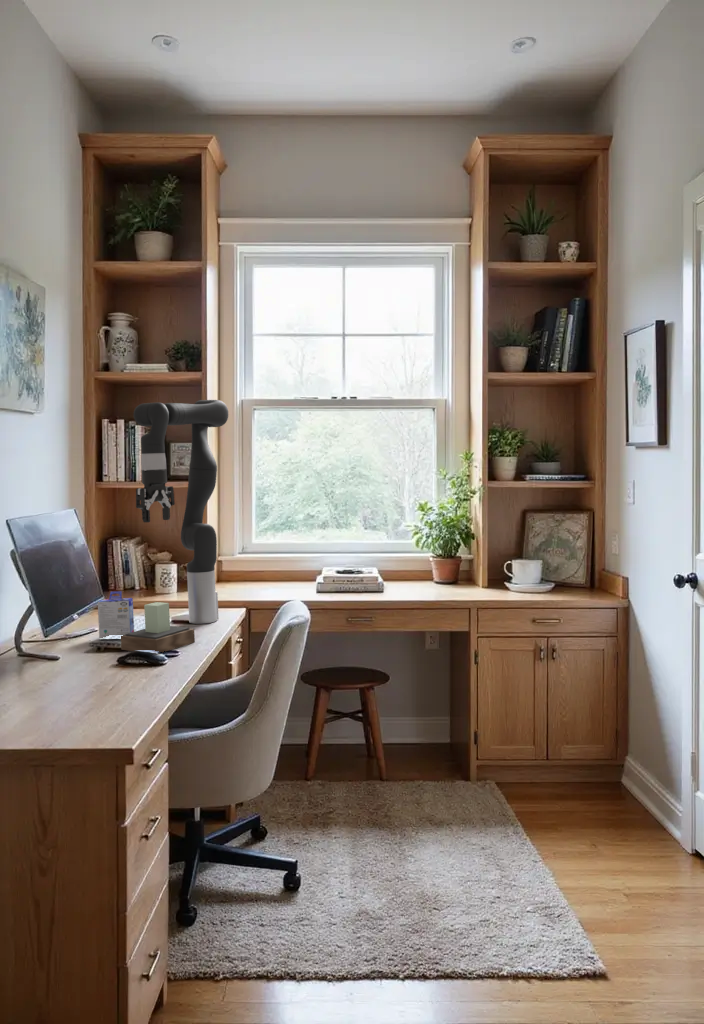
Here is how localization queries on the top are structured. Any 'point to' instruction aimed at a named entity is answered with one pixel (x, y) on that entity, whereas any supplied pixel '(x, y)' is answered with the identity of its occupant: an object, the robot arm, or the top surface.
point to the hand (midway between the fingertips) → (156, 521)
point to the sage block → (157, 617)
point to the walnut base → (158, 639)
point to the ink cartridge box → (115, 615)
